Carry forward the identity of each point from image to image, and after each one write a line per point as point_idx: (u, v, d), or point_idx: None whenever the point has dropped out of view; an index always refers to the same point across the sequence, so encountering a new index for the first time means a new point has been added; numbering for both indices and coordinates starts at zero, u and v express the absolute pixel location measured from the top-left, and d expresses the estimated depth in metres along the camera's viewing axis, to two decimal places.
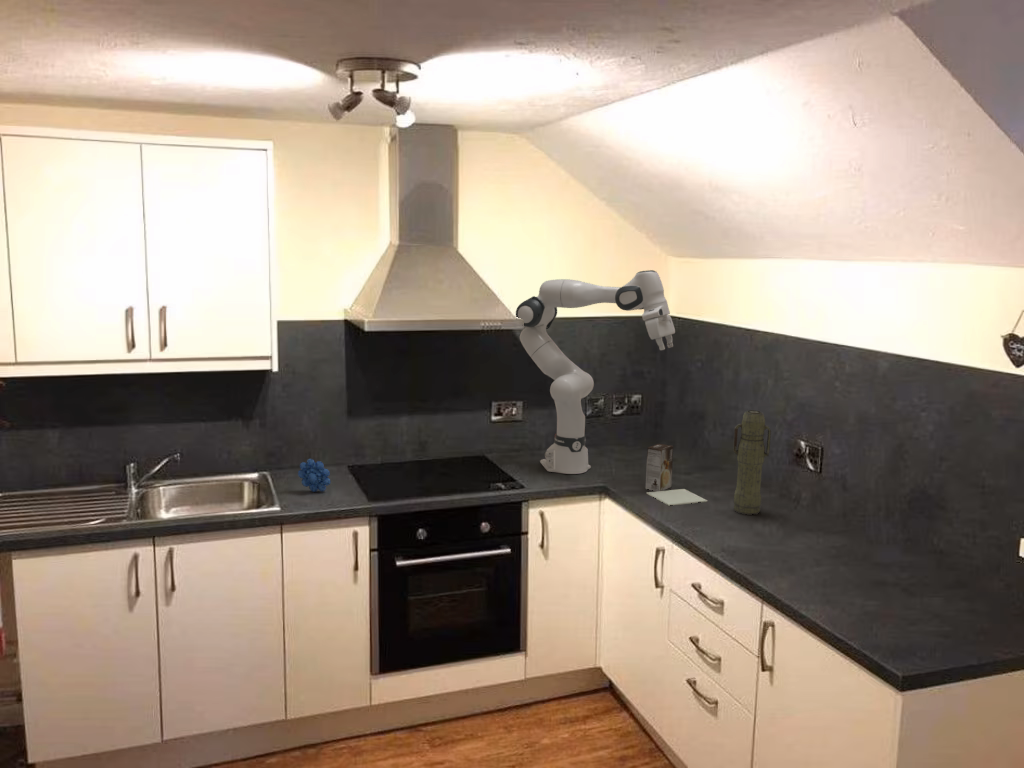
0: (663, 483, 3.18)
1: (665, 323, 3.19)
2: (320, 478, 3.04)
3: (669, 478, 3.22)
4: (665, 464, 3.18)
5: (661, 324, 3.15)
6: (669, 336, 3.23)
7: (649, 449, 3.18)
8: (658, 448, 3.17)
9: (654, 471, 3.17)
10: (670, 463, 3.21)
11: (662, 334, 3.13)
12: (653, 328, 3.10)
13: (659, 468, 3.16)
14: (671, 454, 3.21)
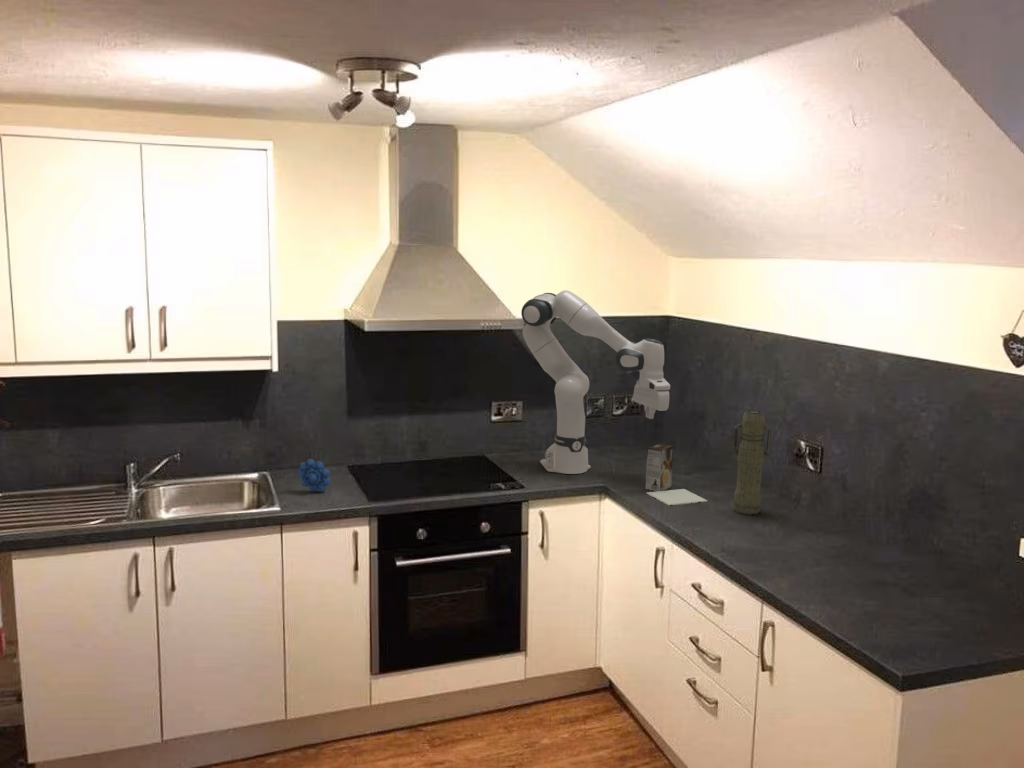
0: (663, 483, 3.18)
1: None
2: (320, 478, 3.04)
3: (669, 478, 3.22)
4: (665, 464, 3.18)
5: None
6: (649, 406, 3.27)
7: (649, 449, 3.18)
8: (658, 448, 3.17)
9: (654, 471, 3.17)
10: (670, 463, 3.21)
11: None
12: (665, 401, 3.16)
13: (659, 468, 3.16)
14: (671, 454, 3.21)
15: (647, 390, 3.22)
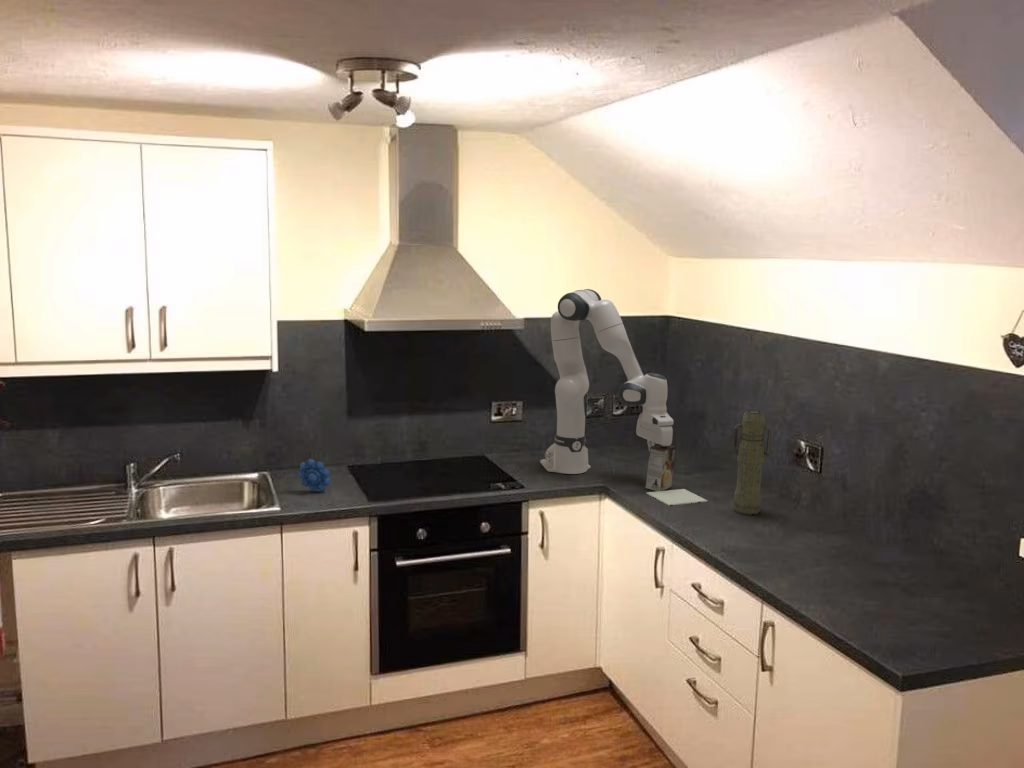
0: (663, 483, 3.18)
1: None
2: (320, 478, 3.04)
3: (669, 478, 3.22)
4: (667, 464, 3.17)
5: None
6: None
7: (652, 449, 3.17)
8: (661, 448, 3.16)
9: (656, 471, 3.17)
10: (672, 463, 3.21)
11: None
12: (669, 436, 3.15)
13: (661, 468, 3.16)
14: (673, 454, 3.20)
15: (650, 425, 3.21)
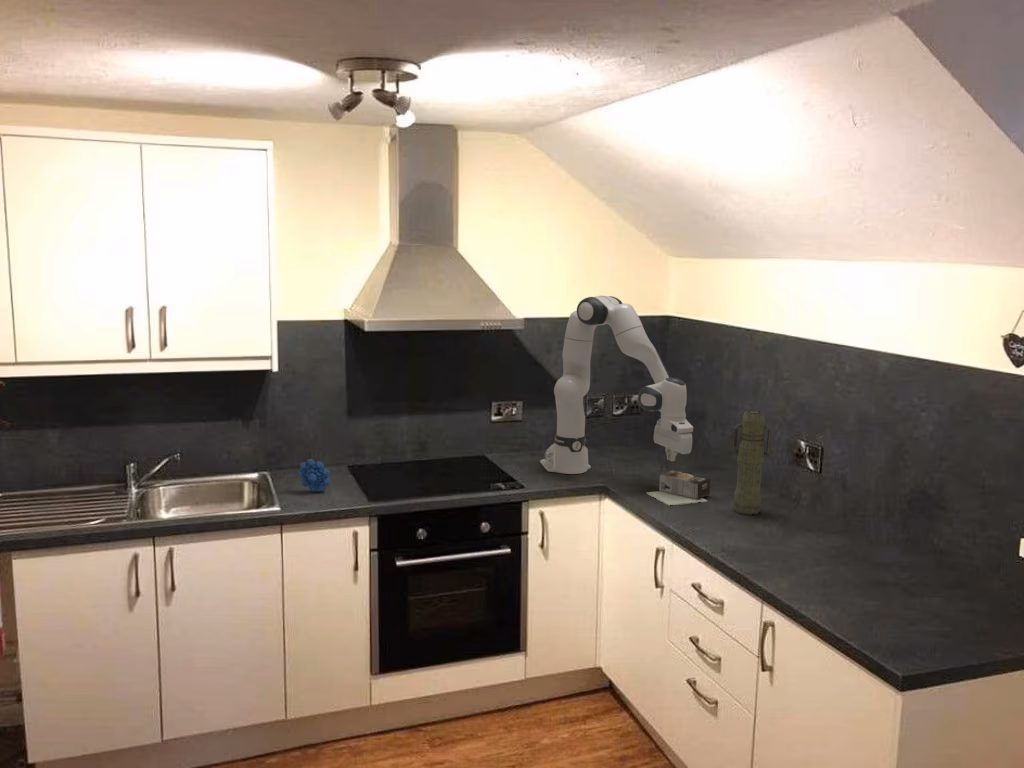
0: None
1: None
2: (320, 478, 3.04)
3: None
4: None
5: None
6: (671, 448, 3.15)
7: (697, 485, 3.07)
8: (700, 492, 3.08)
9: (677, 488, 3.12)
10: None
11: None
12: (688, 444, 3.04)
13: (680, 494, 3.11)
14: None
15: (669, 432, 3.10)
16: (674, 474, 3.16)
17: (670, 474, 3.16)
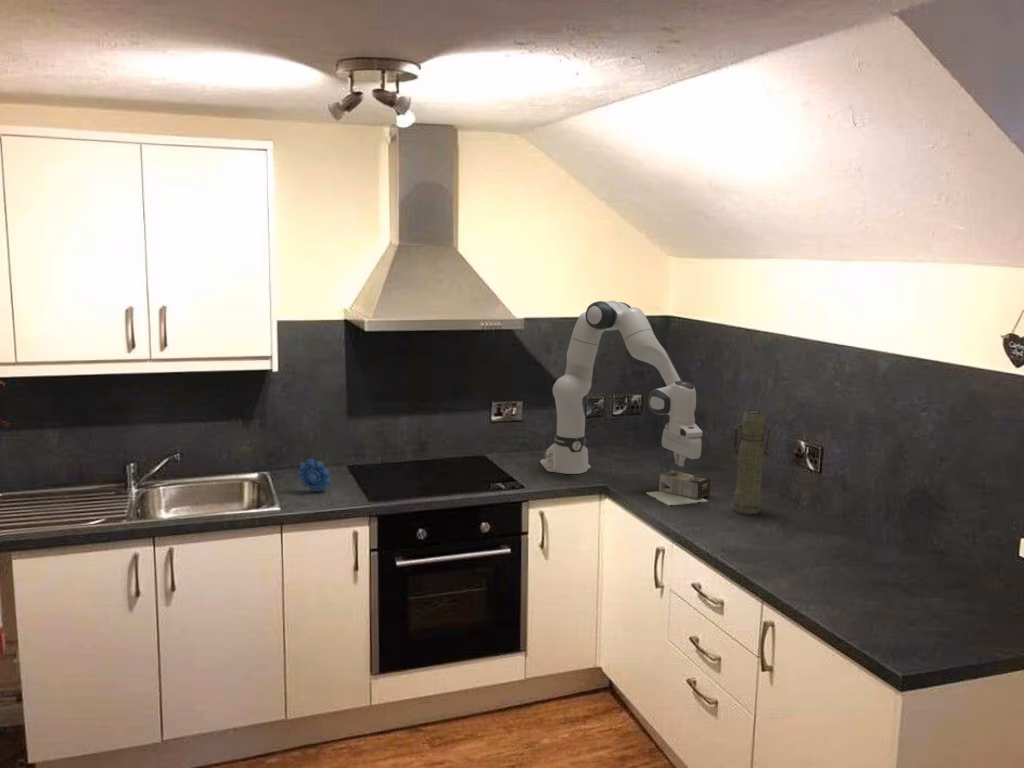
0: None
1: None
2: (320, 478, 3.04)
3: None
4: None
5: None
6: None
7: (697, 485, 3.07)
8: (700, 492, 3.08)
9: (677, 488, 3.12)
10: None
11: None
12: (698, 448, 2.98)
13: (680, 494, 3.11)
14: None
15: (677, 436, 3.04)
16: (674, 474, 3.16)
17: (670, 474, 3.16)
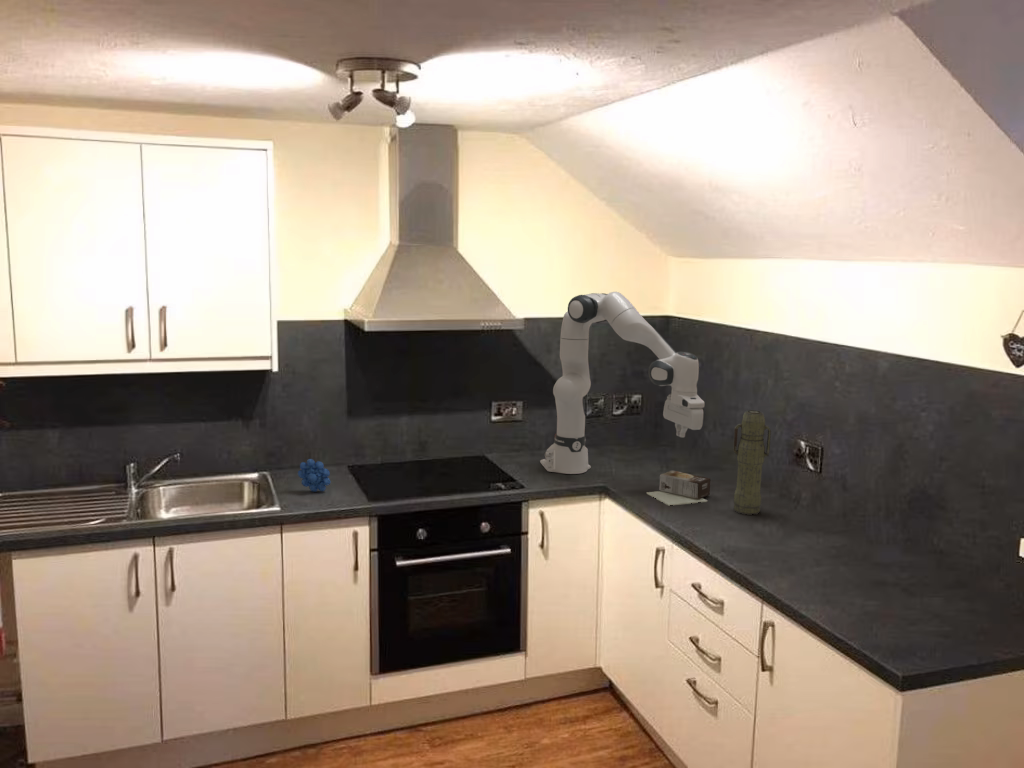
0: None
1: None
2: (320, 478, 3.04)
3: None
4: None
5: None
6: (680, 424, 3.07)
7: (697, 485, 3.07)
8: (700, 492, 3.08)
9: (677, 488, 3.12)
10: None
11: None
12: (699, 419, 2.97)
13: (680, 494, 3.11)
14: None
15: (679, 407, 3.02)
16: (674, 474, 3.16)
17: (670, 474, 3.16)
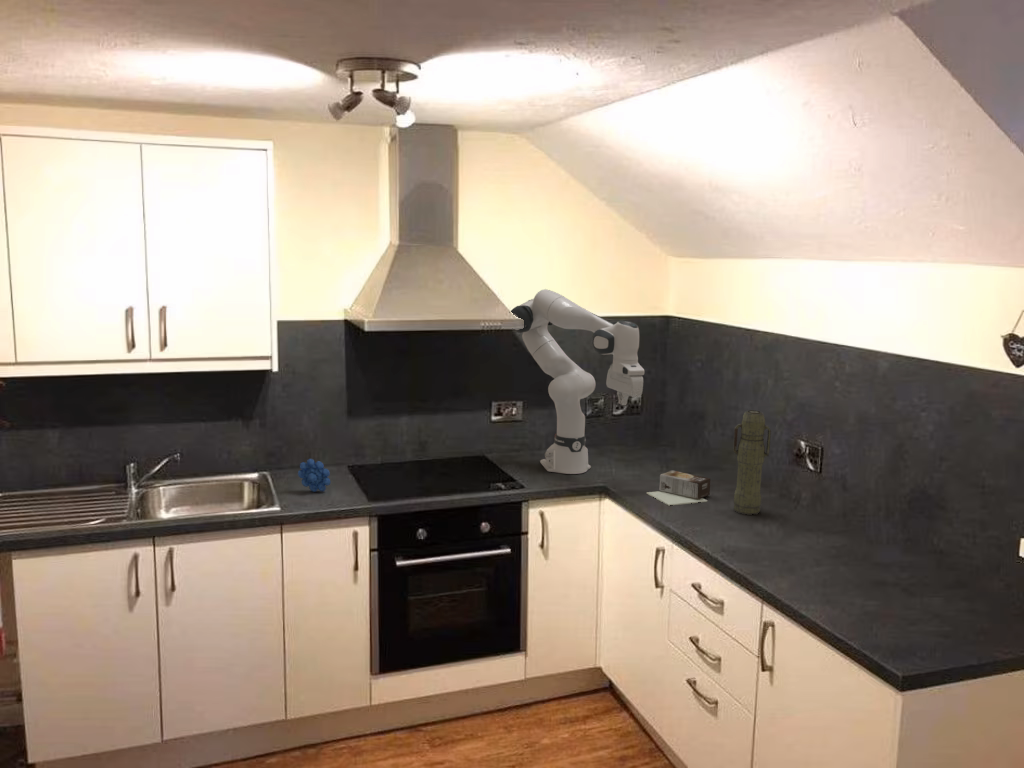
0: None
1: None
2: (320, 478, 3.04)
3: None
4: None
5: None
6: (622, 392, 3.12)
7: (697, 485, 3.07)
8: (700, 492, 3.08)
9: (677, 488, 3.12)
10: None
11: None
12: (639, 386, 3.02)
13: (680, 494, 3.11)
14: None
15: (620, 375, 3.07)
16: (674, 474, 3.16)
17: (670, 474, 3.16)
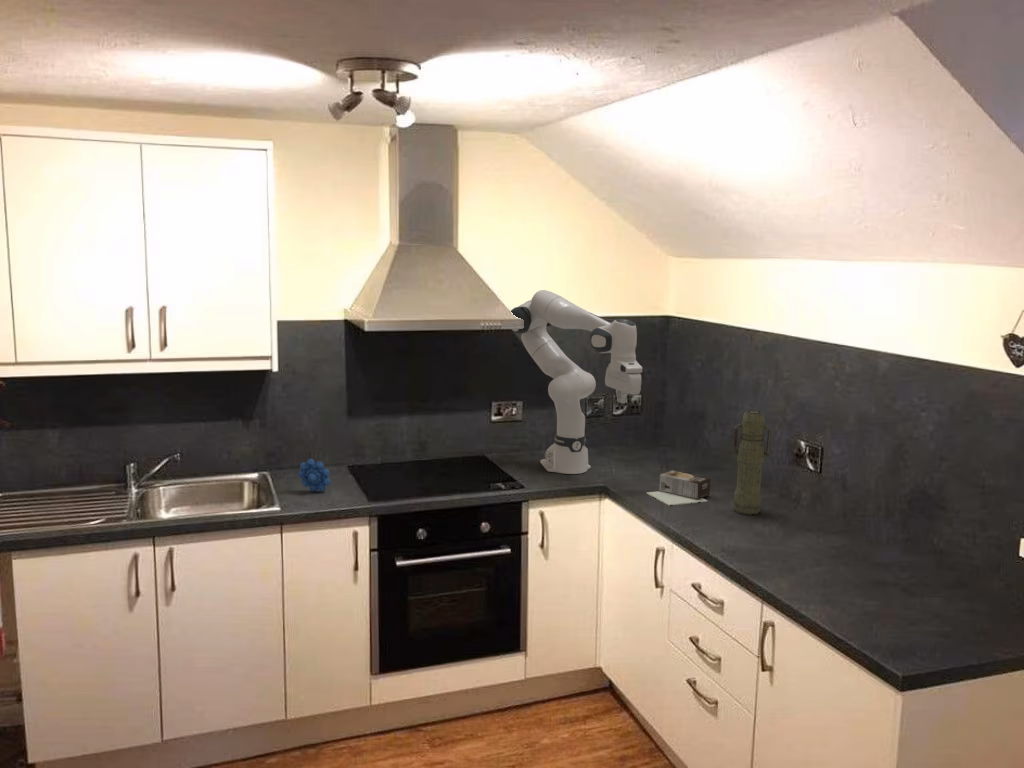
0: None
1: None
2: (320, 478, 3.04)
3: None
4: None
5: None
6: (621, 391, 3.12)
7: (697, 485, 3.07)
8: (700, 492, 3.08)
9: (677, 488, 3.12)
10: None
11: None
12: (637, 384, 3.01)
13: (680, 494, 3.11)
14: None
15: (618, 373, 3.07)
16: (674, 474, 3.16)
17: (670, 474, 3.16)
